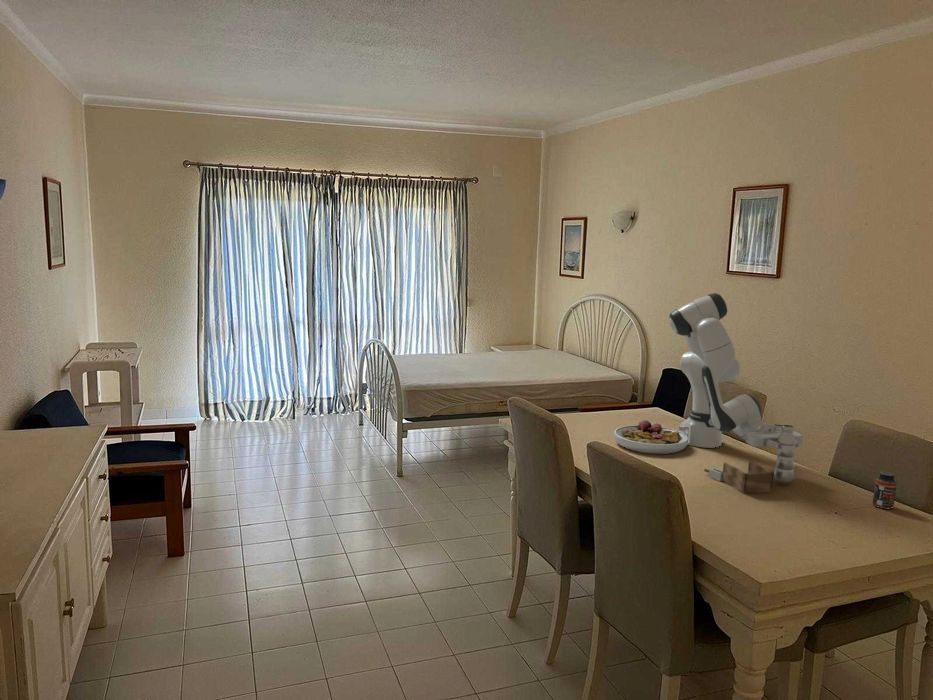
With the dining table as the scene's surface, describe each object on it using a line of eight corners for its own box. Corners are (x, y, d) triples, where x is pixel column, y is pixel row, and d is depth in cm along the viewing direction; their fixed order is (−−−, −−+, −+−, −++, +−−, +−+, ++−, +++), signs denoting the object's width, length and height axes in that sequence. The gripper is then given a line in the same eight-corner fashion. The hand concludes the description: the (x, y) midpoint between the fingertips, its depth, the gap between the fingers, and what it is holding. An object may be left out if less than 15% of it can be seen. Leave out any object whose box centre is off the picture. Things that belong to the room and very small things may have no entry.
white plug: (701, 474, 256) (702, 467, 256) (707, 473, 258) (708, 465, 257) (726, 483, 247) (727, 475, 247) (732, 482, 249) (733, 474, 248)
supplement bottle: (882, 510, 225) (886, 476, 223) (868, 503, 231) (872, 470, 229) (898, 509, 226) (902, 475, 225) (883, 502, 232) (887, 470, 230)
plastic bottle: (773, 482, 246) (777, 427, 243) (773, 476, 252) (778, 422, 249) (793, 485, 243) (798, 429, 240) (793, 479, 249) (798, 425, 247)
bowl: (696, 457, 278) (698, 438, 277) (621, 455, 279) (622, 436, 277) (675, 436, 308) (677, 419, 307) (607, 435, 308) (608, 417, 307)
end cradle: (722, 480, 250) (723, 462, 249) (749, 479, 252) (751, 461, 251) (743, 493, 238) (745, 474, 236) (772, 492, 240) (774, 473, 239)
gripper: (739, 427, 255) (763, 438, 242) (787, 425, 260) (813, 435, 247) (737, 443, 256) (761, 455, 243) (785, 441, 261) (812, 452, 248)
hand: (788, 445), depth 245 cm, fingers open, 6 cm apart
